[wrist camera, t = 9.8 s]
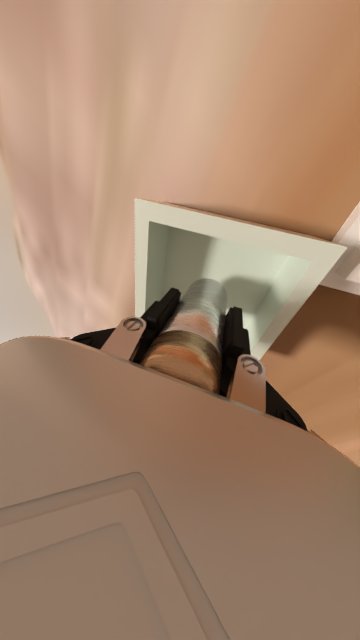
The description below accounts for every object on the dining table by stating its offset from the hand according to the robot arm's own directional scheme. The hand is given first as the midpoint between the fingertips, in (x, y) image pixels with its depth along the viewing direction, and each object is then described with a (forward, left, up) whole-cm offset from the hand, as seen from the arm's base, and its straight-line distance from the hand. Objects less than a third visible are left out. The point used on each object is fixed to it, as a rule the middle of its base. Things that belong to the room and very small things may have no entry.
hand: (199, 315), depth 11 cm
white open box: (0, 0, -6) cm, 6 cm away
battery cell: (0, 0, -3) cm, 3 cm away
